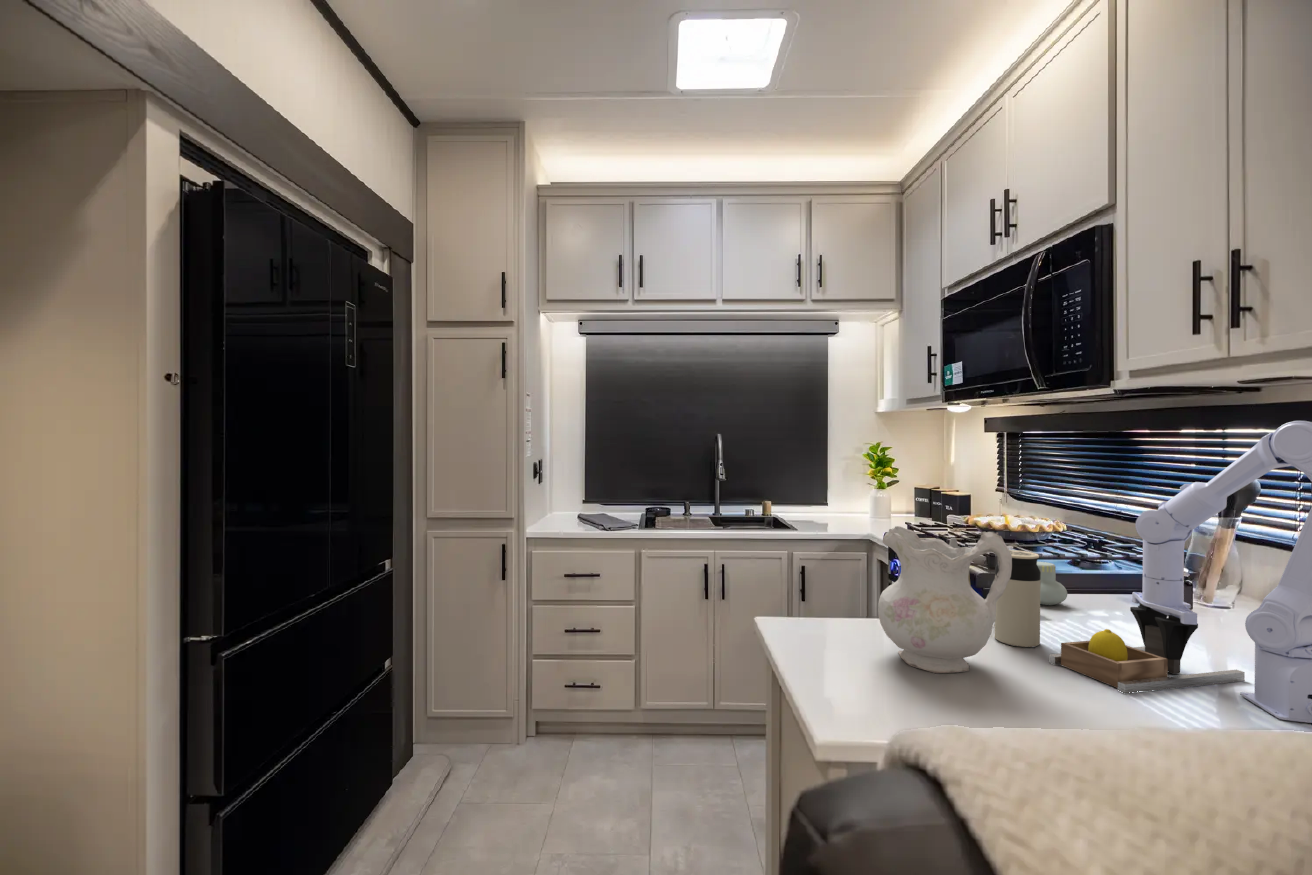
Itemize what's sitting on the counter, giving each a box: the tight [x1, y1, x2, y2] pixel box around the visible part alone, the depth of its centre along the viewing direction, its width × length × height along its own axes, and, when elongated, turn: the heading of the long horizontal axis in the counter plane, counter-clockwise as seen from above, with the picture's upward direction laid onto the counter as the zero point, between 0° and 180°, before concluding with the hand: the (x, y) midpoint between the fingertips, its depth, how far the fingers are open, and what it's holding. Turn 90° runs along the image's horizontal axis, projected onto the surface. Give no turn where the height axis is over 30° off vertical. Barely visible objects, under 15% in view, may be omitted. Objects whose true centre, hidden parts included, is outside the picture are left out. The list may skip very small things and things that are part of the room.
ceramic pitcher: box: [877, 526, 1012, 674], centre depth 113 cm, size 22×20×25 cm
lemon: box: [1088, 628, 1128, 662], centre depth 107 cm, size 6×6×8 cm
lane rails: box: [1048, 645, 1246, 694], centre depth 109 cm, size 26×14×2 cm, turn 104°
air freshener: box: [1037, 560, 1068, 606], centre depth 156 cm, size 11×8×10 cm
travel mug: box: [994, 549, 1041, 648], centre depth 125 cm, size 8×8×18 cm
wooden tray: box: [1060, 625, 1181, 689], centre depth 108 cm, size 18×11×7 cm, turn 104°
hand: (1162, 653), depth 110 cm, fingers closed on wooden tray, 5 cm apart
